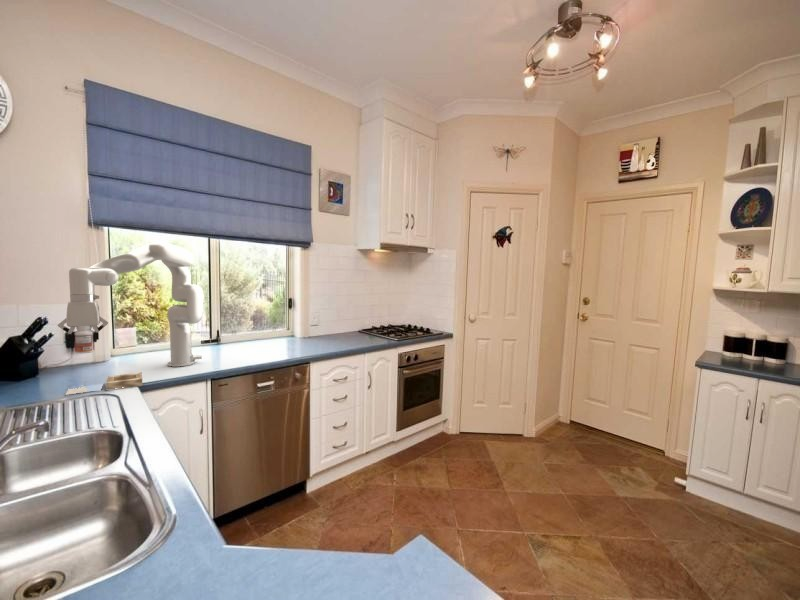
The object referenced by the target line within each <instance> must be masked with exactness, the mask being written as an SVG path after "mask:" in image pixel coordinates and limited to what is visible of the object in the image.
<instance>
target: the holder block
mask: <svg viewBox="0 0 800 600" xmlns="http://www.w3.org/2000/svg"><path fill="white" fill-rule="evenodd" d="M130 386H136V387H142V386H143V373H142V372H134V373H125V374H114V375H107V378H106V381H105V390H106V389H114V390H116V389H115V388H121V389H123V388H122V387H129V388H131V387H130Z"/></svg>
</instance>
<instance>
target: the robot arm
mask: <svg viewBox="0 0 800 600" xmlns="http://www.w3.org/2000/svg"><path fill="white" fill-rule="evenodd" d="M155 261H156V262H157V261H161V262H162V263H163V265H165V266H166V267H167V268H168V270H169V271H170V272H171V298H172V300H174V301H175V302H178V303H186V304H174V305H171V306H170V307H169V309H168V310H167V313H166V316H167V321H168V325H169V343H170V344H169V345H170V361H168V362H167V364H166V365H167V366H168V367H171V366H172V368H176V367H177V368H180V366H181V367H188V366H192V365H194V364H195V363H196V360H202V358H203V357H202V355H199V354H198V355H193V353H192V328H191V326H190V324H191V325H192V324H194V325H195V324H198V323H200V322H201V321H202V319H203V314H204V298H205V297H204V296H205V295H204V291H203V289H202V288H201V286H199V285H198V284H194V283H192V275H191V271H190V269H189V268H188V267H189V266H192V265H193V263H194V261H195V256H194V255H193V253H192V251H190V250H188V249H185V248H183V247H181V246H178V245H175V244H171V243H169V242H165V241H152V242H147V243H145V244H143V245H140V246H139V247H137V248H136V247H135V249H132V250H130V251H128V252H126V253H123V254H120V255H117V256H115V257H114V256H113V257H111V258H108V259H105V260H102V261H99V262H97V263H94V264H93V265H91V266H89V267H73V268H70V269H69V271H68V283H69V300H70V301H68V303H67V307H66V318H64V319H63V320H61V322H59V323H58V324H57V327H58V328H60V329H62V331H64V332H65V333H67V334H68V337H69V338H68V340H69V342H71V344H72V345H74V333H75V329H76V327H78V326H92V329H93V331H94V343H97V341H98V340H99V339H100V337H99V336H100V335H99V332H100V331H101V330H102V329H104V328H105V327H106V326H107V325H109V321H107V320H106V319H104V318H103V317H102V316H101V313H100V306H99V303H98V301H96V300H99V299H100V295H96V291H95V286H99V287H100V286H101V287H109V286H110V287H111V286H113V285H115V284H116V283H117V282H118V281H119V279H120V278H119V276H120V275H119V274H123V273H132V272H135V271H139V270H140V269H142V268H144V267H146V266H148V265H150V264H152V263H154V262H155ZM100 323H102V324H101V325H100ZM65 324H66V326H65ZM98 325H100V326H98Z"/></svg>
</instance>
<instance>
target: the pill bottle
mask: <svg viewBox="0 0 800 600" xmlns="http://www.w3.org/2000/svg"><path fill="white" fill-rule="evenodd" d="M75 329H76V331H74V344H73V345H74V353H75V354H90V353H91V354H92V353H94V352H95V350H96V349H95V342H94V331H95V330H92V329H93V327H92V326H78V327H75Z"/></svg>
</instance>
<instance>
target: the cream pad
mask: <svg viewBox="0 0 800 600" xmlns="http://www.w3.org/2000/svg"><path fill="white" fill-rule="evenodd" d="M87 390H89V389H87V388H85V386H84V387H81V388H80V387H79V388H78V389H77V388H75V389H74V388H73V389H69V388H68V389H67V390H66V391H65V395H66V396H70V395H69V394H74V395H77V394H76V393H81V394H84V393H83V392H87ZM65 395H64V396H65Z"/></svg>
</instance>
